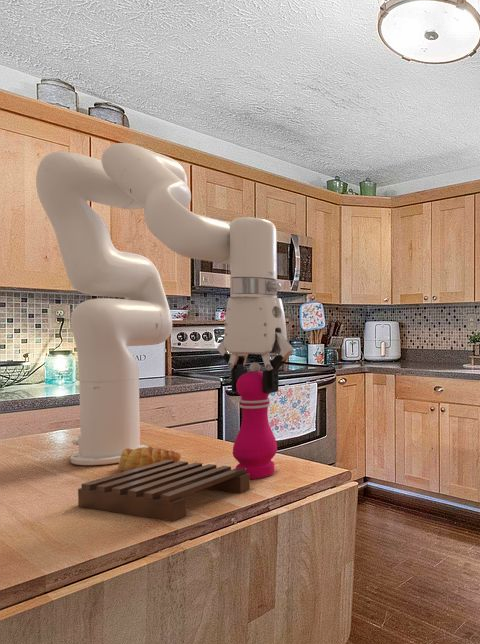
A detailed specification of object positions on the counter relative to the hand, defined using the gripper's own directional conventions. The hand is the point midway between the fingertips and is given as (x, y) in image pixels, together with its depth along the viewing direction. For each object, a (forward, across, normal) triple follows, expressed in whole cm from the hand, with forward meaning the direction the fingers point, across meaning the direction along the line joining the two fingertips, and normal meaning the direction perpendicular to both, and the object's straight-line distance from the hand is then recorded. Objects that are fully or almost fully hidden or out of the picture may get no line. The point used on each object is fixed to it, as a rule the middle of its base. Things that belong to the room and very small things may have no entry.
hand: (255, 390), depth 88 cm
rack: (+15, +4, +14) cm, 21 cm away
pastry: (+15, +22, +3) cm, 27 cm away
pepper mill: (+15, 0, 0) cm, 15 cm away
